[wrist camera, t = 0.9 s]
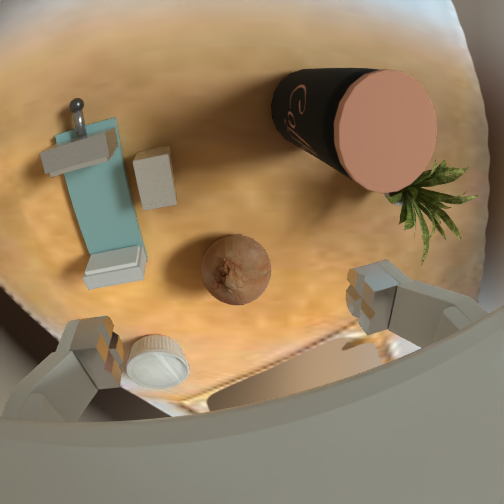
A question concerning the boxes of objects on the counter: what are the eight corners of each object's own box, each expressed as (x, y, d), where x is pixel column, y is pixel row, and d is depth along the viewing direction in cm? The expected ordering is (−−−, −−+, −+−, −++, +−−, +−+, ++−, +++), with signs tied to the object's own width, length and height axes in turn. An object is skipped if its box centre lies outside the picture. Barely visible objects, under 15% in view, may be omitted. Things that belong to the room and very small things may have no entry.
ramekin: (198, 342, 53) (201, 365, 49) (168, 373, 56) (170, 395, 52) (143, 320, 48) (142, 343, 43) (118, 355, 51) (116, 377, 46)
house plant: (401, 219, 49) (462, 269, 35) (336, 216, 45) (398, 277, 32) (421, 142, 42) (496, 177, 28) (356, 126, 38) (437, 158, 25)
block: (138, 151, 34) (132, 161, 30) (169, 145, 34) (168, 154, 30) (146, 195, 37) (143, 210, 33) (176, 189, 38) (176, 204, 34)
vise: (58, 133, 29) (38, 144, 24) (115, 117, 31) (104, 123, 26) (97, 266, 40) (89, 292, 35) (147, 256, 42) (144, 282, 36)
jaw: (49, 107, 26) (31, 112, 22) (109, 88, 28) (98, 89, 23) (61, 166, 31) (46, 179, 26) (119, 151, 32) (110, 161, 28)
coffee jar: (259, 77, 32) (325, 76, 17) (335, 64, 33) (432, 67, 18) (278, 154, 38) (346, 209, 23) (348, 136, 39) (438, 178, 24)
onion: (204, 235, 45) (182, 252, 36) (266, 223, 44) (258, 237, 34) (219, 293, 48) (202, 322, 38) (278, 284, 46) (275, 313, 36)
